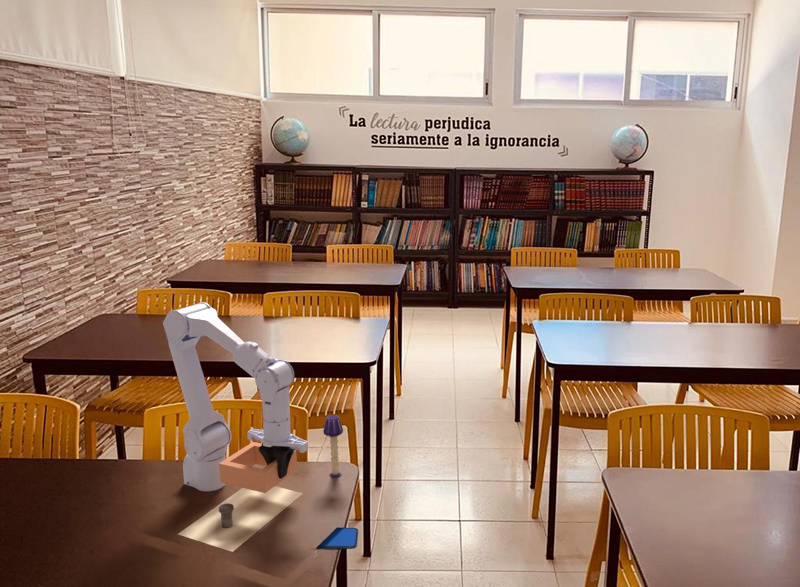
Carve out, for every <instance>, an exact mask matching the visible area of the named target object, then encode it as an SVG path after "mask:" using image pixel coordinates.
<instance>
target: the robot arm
mask: <svg viewBox="0 0 800 587" xmlns="http://www.w3.org/2000/svg"><path fill="white" fill-rule="evenodd" d="M162 325H163V328H164V332H165V335H166V339H167V341H168V343H167V344H168V348H169V350H170V355H171V357H172V360H173V361H172V362H173V364H174V368H175V371H176V375H177V379H178V381H179V385H180V388H181V391H182V395H183V398H184V399H183V400H184V402H185V403H184V404H185V406H186V409H187V412H188V416H189V419H188V420H187V422H186V424H185V426H184V428H183V429H182V433H183V437H184V450H185V452H186V455H185V457H184V459H183V462H182V469H183V470H182V472H183V484H184V485H186V486H190V487H192V488H195V489H196V490H198V491H201V492H213V491H217V490H220V489H222V488H224V487H225V486H226V485H227V484H224V483H220V472H219V463H220V462H222V461H224V460H225V459H226V451H228V445H230V443H231V441H232V439H233V438H232V432H231V429H230V427H229V425H228V424H227V422H226V420H225V418H224V415H223V414H221V413H219V412H217V411H215V410H214V407H213V404H212V401H211V397H210V394H209V390H208V386H207V384H206V380H205V376H204V372H203V369H202V366H201V363H200V359H199V356H198V352H197V349H196V346H197V343H198V342H199V340H200V338H201V337H208V338H209V339H211V340H212V341H213V342H215V344H218V345H220V346H221V347H222V348H224V350H227V351H228V352H230V353H231V354H232V356H233V361H234V363H235V364H236V365H237V366H239V367H240V369H241V368H242V370H244V371H245V372H246V373H247V374H248V375H250V376H251V377H253V378H254V382H255V385H256V387H257V390H259V395H260V399H261V401H262V402H261V404H262V423H263V424H262V425H263V429H258V428H251V429H250V430H248V431H247V433H246V434H247V436H246V437H247V440H248V441H252V442H253V441H256V442H261V444H262V445H261V446H260V447H259V452H260V453H261V454H262V456H263V457H264V459H265V461H266V464H267V465H269V464H270V463H272V462H273V461H275V460H276V461H277V466H278V476H279V478H281V479H282V478H283V477H285V476H286V475H287V470H288V466H289V462H290V459H291V457H292V455H293V453H294V451H295V450H296V451H298V452H299V453H302V454H304V453H305V452H307V451H308V450H309V441H308V440H305V439H303V438H301V437H298V436H296V435H295V434H293V433H291V410H290V409H291V407H290V406H291V404H290V402H291V401H290V385H291V384H292V383H293V382H294V380H295V371H294V368H293V367H292V365H291V363H289V362H288V361H287V360H286V359H279V358H276V357H275V358H274V357H273V356H271V355H270V354H269V353H267V351H265V350H263V348H261V347H259V344H258V343H257V342H254V341H250V340H249V341H244V340H243V339H241V338H240V337H239V336H238V335H237V334H236V333H235V332H234V331H233V330H232V329H230V328H229V327H228V325H227V324H225V323H224V322H223V321H222V319H220V318H219V316H218V311H217V310H216V309H215V308H213V307H212V306H211V305H210V304H209V303H207V302H205V301H200V302H198V303H196V304H193V305H189V306H188V305H187V306H186V307H183V308H182V307H181V308H178V309H172V310H170V311H169V312H167V314H166V316H165V318H164V320H163V322H162Z"/></svg>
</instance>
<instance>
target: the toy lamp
mask: <svg viewBox="0 0 800 587" xmlns="http://www.w3.org/2000/svg"><path fill="white" fill-rule="evenodd" d="M342 425H343V424H342V421H341V419H340V417H339V415H337V414H330V415H327V416H326V418H325V422H324V427H323V430H322V431H323V432H322V433H323V435H325V436H327V437H329V438H330V440H329V443H330V462H331V464H330V466H331V473H329V476H328V477H329V478H332V479H339V478H340V477H342V475H343V474H342V472H340V471H339V467H340V466H339V457H338V456H339V450H338V449H339V446H338V443H339V442H338V441H339V440H338V436H341V435H342V434H343V433H344V429H343V426H342Z"/></svg>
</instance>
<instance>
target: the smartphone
mask: <svg viewBox="0 0 800 587" xmlns="http://www.w3.org/2000/svg"><path fill="white" fill-rule="evenodd" d="M358 537H359V529H358V528H356V527H339V526H338V527H337V526H336V527H335V529H333V530H332V532H331V533H329V534H328V535H327V536H326V537H325V538H324V539H323V540H322V541H321V542H320V544H318V545H317V546H316V547H315V550H354V549H356V548H357V547H358V540H359V538H358Z"/></svg>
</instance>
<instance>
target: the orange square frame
mask: <svg viewBox="0 0 800 587" xmlns="http://www.w3.org/2000/svg"><path fill="white" fill-rule="evenodd" d="M261 445H262V442H261V443H260V442H257V441H256V442H255V441H252V442H251V443H249V444H247V445H246V446H244V447H242V448H240V449H239V450H238V451H236V452H234V453H233V454H231V455H230V456H229V457H228V456H227V457H226V458H225V460H224V461H222V462H220V463H219V472H220V483H224V484H226V485H228V486H233V487H237V488H240V489H242V488H245V489H249V490H254V491H258V492H262V493H266V492H268V491H269V490H270V489H272V488H273V487H274V486H278V484H280V483H281V482H283V481H284V480H285V479H286V478H288V477H289V476H290V475H291V474H293V473H294V472H295V471H297V470H298V458H297V450H295V451H294V453H293V455H292V457H291V459H290V462H289V466H288V470H287V475H286V476H285V477H283V478H282V479H281V478H279V476H278V466H277V461H276V460H275V461H273V462H272V463H270V464H269V465H267V464H266V461H265V459H264V457H263V456H262V454H261V453H260V452H259V447H260V446H261ZM254 465H258V466H263V468H259V467H256V466H255V467H254Z"/></svg>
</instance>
